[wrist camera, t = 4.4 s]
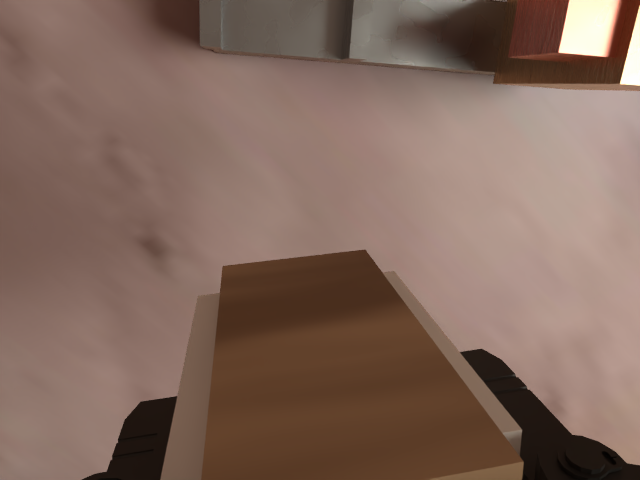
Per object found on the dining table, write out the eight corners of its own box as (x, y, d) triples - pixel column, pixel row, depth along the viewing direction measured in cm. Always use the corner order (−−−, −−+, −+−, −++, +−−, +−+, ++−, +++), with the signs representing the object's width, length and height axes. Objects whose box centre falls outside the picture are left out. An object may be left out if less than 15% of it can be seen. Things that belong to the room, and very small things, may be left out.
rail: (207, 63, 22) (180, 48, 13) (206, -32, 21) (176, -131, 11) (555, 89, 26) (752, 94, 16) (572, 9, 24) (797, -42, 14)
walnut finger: (223, 265, 13) (197, 521, 5) (365, 249, 13) (523, 462, 6) (247, 442, 15) (254, 811, 7) (371, 422, 15) (495, 746, 8)
